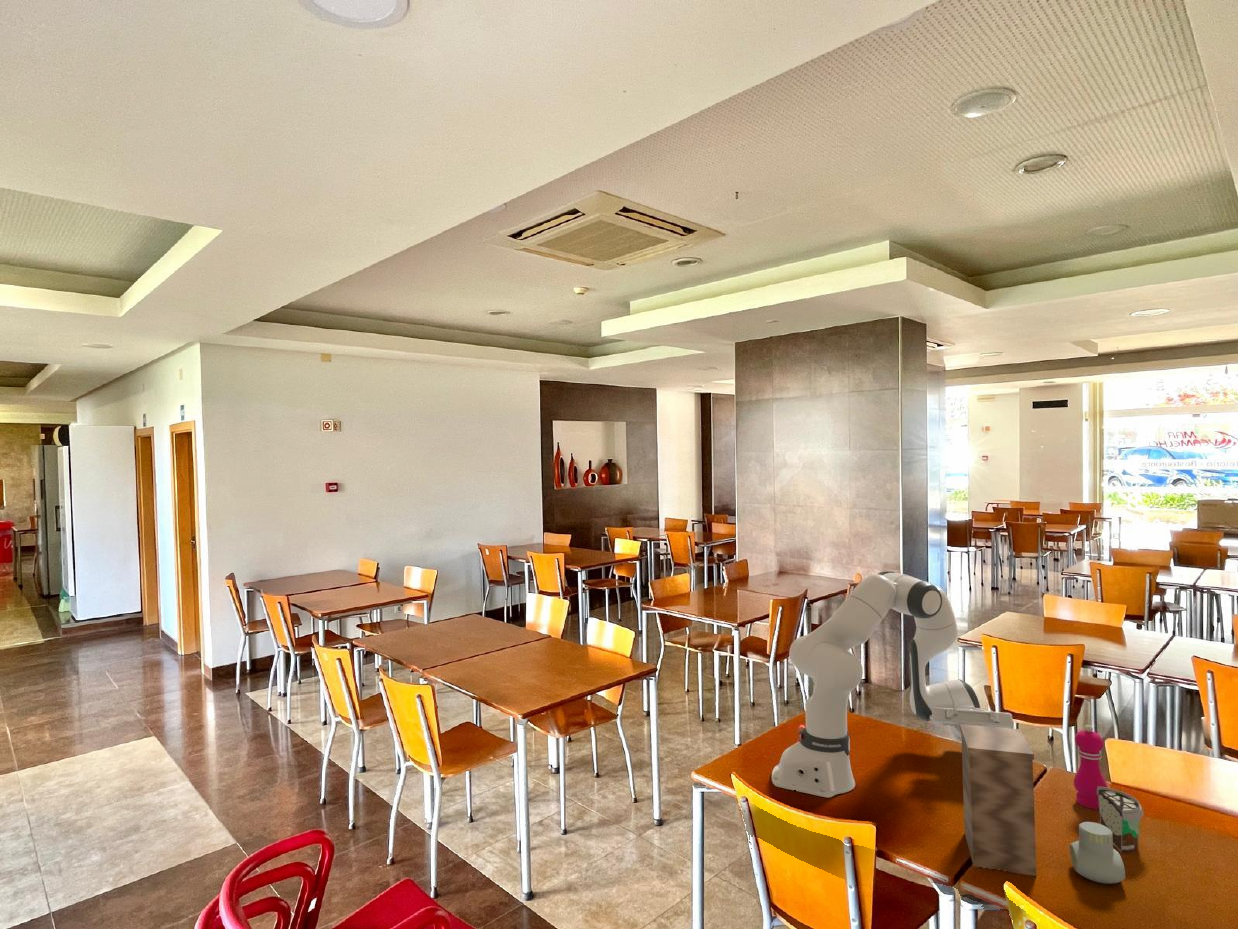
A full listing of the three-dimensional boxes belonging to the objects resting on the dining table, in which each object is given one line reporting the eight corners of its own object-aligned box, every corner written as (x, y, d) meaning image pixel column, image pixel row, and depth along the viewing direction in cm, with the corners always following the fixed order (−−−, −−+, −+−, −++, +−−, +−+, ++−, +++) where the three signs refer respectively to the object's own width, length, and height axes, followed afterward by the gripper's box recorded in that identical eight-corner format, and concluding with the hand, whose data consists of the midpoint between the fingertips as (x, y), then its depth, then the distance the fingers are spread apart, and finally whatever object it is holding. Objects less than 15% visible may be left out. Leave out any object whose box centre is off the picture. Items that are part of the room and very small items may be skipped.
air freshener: (1068, 857, 151) (1066, 812, 151) (1113, 865, 148) (1111, 819, 148) (1080, 886, 141) (1078, 838, 141) (1128, 895, 138) (1126, 845, 138)
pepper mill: (1105, 799, 175) (1102, 722, 175) (1111, 813, 169) (1108, 732, 169) (1071, 794, 178) (1069, 718, 178) (1077, 807, 172) (1074, 728, 172)
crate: (972, 866, 149) (967, 747, 149) (963, 833, 162) (959, 724, 162) (1038, 876, 145) (1034, 754, 145) (1023, 841, 158) (1019, 729, 158)
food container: (1156, 859, 149) (1155, 813, 149) (1125, 856, 151) (1123, 811, 151) (1126, 829, 161) (1125, 787, 161) (1097, 827, 163) (1096, 785, 163)
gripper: (928, 707, 201) (931, 698, 190) (1006, 714, 194) (1014, 704, 183) (930, 730, 199) (932, 721, 187) (1009, 737, 191) (1017, 729, 180)
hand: (973, 713), depth 185 cm, fingers open, 8 cm apart
